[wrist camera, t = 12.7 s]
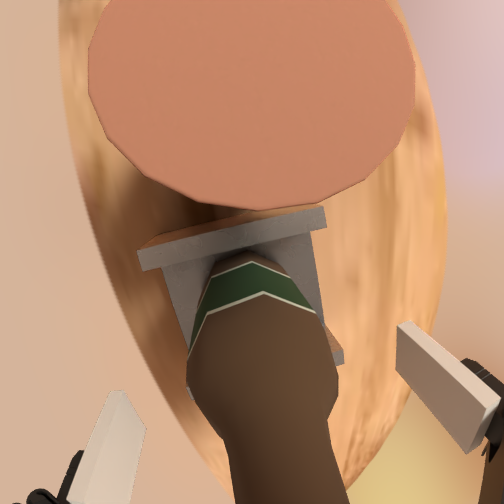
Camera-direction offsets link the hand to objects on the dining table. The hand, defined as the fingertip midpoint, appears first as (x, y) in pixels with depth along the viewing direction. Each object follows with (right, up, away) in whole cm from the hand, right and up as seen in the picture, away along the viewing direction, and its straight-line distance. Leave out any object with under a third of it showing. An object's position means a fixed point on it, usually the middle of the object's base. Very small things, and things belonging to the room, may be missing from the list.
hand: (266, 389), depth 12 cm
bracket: (-1, +3, +15) cm, 15 cm away
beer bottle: (-1, +3, +14) cm, 14 cm away
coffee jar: (-2, +16, +12) cm, 20 cm away
